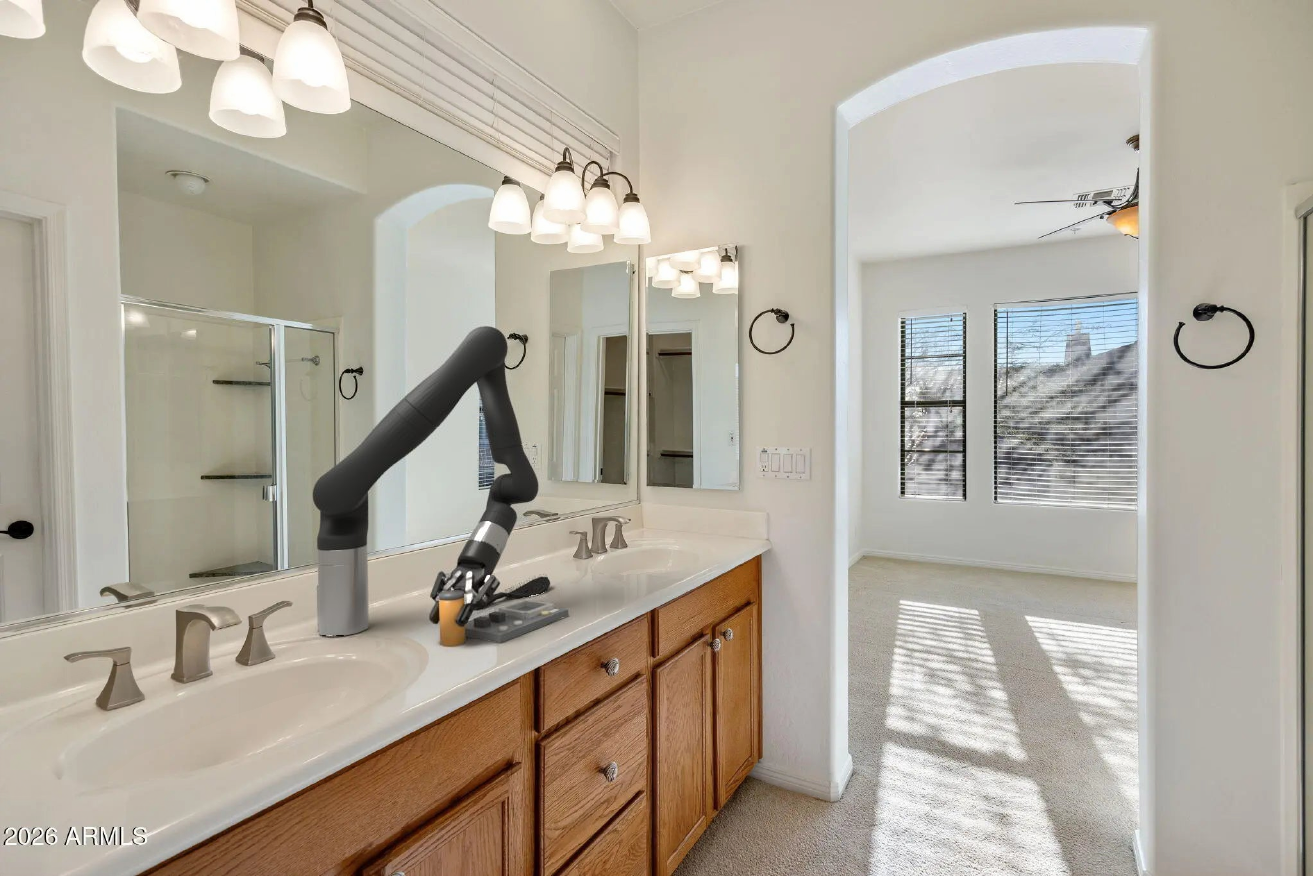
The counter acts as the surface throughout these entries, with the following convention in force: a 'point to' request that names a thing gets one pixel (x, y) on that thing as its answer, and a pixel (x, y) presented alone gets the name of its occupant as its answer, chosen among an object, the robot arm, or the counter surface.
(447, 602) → the orange lidded container
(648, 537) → the counter surface
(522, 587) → the hairbrush
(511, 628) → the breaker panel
